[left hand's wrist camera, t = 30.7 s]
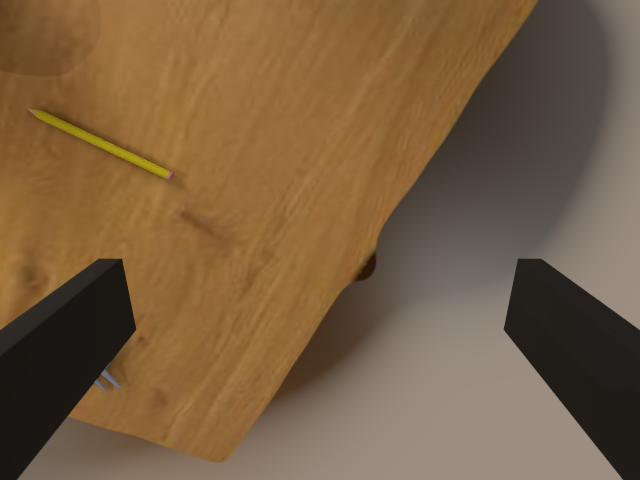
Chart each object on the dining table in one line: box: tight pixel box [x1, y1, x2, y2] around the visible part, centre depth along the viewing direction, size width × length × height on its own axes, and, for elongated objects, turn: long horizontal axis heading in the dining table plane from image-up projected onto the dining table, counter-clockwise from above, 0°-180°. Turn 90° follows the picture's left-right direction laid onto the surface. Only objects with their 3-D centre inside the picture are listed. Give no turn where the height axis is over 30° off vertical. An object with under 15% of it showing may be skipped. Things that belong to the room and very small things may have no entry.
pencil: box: [27, 108, 173, 180], centre depth 42 cm, size 16×1×1 cm, turn 63°
